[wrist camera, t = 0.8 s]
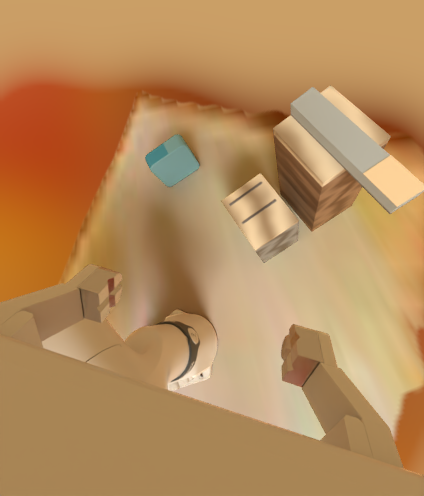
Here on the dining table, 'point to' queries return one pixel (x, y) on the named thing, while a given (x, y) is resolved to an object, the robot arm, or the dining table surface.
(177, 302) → the dining table surface
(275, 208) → the grey marbled block
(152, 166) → the data package
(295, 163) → the tall stand
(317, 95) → the sanding stick
